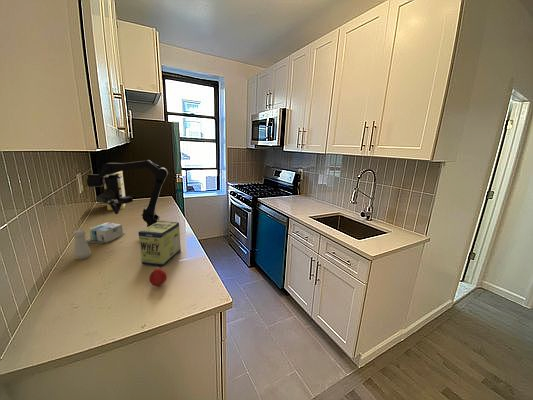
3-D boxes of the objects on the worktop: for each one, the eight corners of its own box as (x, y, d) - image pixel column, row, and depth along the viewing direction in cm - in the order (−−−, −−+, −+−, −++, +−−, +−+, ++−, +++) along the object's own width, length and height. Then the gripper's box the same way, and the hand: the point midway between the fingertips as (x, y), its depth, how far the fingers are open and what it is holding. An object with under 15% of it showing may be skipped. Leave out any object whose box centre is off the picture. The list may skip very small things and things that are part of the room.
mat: (125, 234, 129) (125, 233, 129) (102, 244, 116) (102, 243, 116) (108, 231, 132) (108, 231, 132) (84, 241, 119) (84, 240, 119)
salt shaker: (73, 261, 99) (68, 234, 96) (77, 255, 104) (72, 229, 101) (90, 258, 102) (85, 232, 99) (92, 253, 107) (88, 227, 103)
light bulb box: (105, 231, 116) (88, 228, 118) (106, 242, 117) (90, 240, 120) (122, 224, 126) (106, 221, 128) (123, 235, 127) (107, 232, 130)
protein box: (141, 265, 98) (137, 232, 95) (162, 249, 113) (159, 220, 110) (163, 267, 97) (160, 234, 93) (181, 251, 112) (179, 221, 108)
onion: (149, 292, 81) (147, 273, 79) (150, 283, 86) (148, 264, 84) (167, 289, 83) (165, 269, 81) (167, 280, 88) (165, 262, 86)
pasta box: (123, 208, 176) (119, 173, 170) (107, 210, 172) (102, 173, 165) (126, 203, 192) (122, 170, 185) (111, 204, 188) (107, 170, 181)
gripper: (83, 188, 115) (89, 217, 119) (114, 190, 111) (118, 220, 115) (103, 184, 125) (107, 211, 129) (131, 186, 122) (135, 213, 125)
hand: (116, 214), depth 124 cm, fingers closed
